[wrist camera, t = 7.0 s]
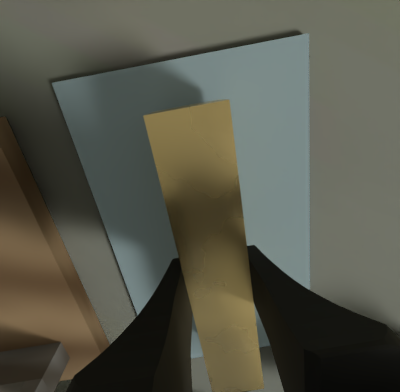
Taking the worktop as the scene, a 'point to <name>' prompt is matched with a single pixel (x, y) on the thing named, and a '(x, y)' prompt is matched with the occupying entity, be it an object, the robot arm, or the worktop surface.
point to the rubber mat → (244, 145)
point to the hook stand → (38, 287)
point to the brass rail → (210, 235)
